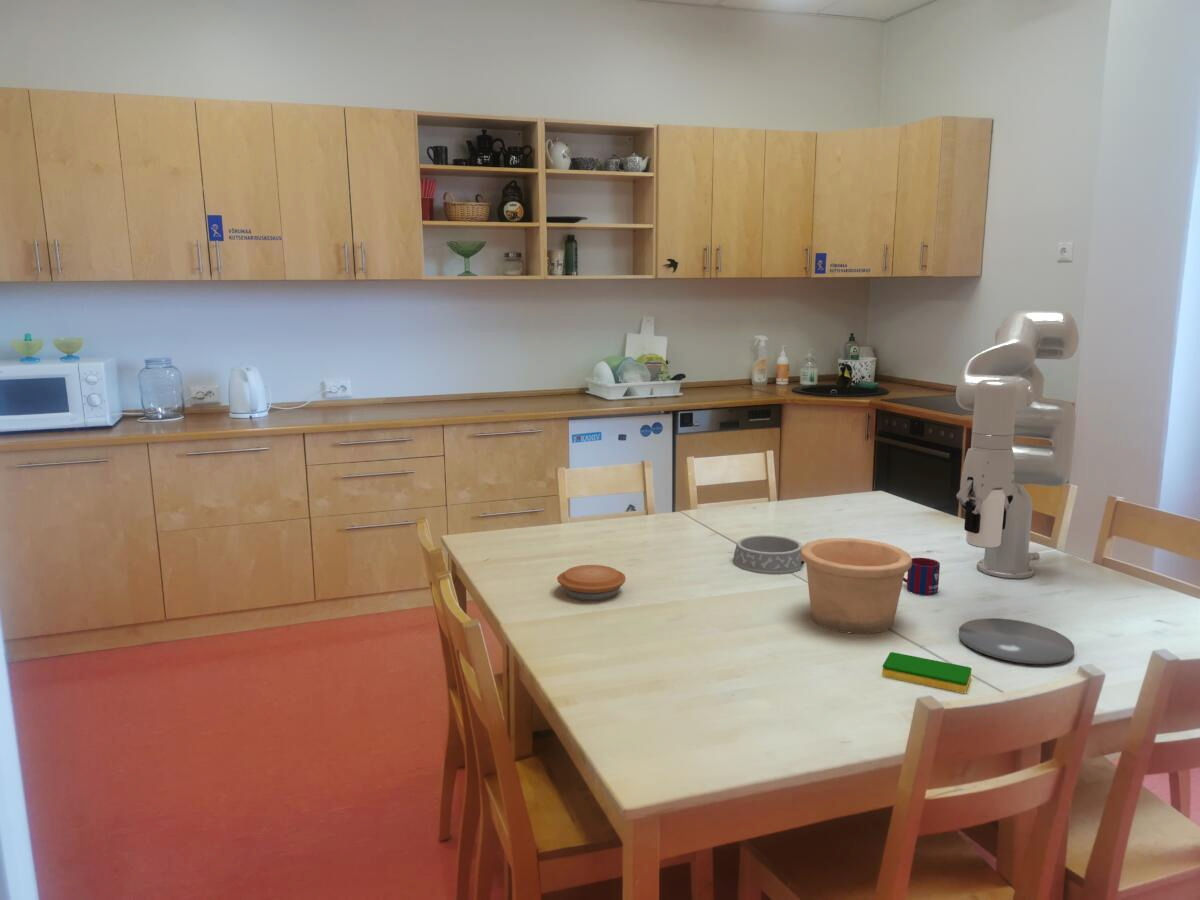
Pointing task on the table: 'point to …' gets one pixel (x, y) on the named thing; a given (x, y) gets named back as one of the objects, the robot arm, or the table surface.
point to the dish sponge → (927, 672)
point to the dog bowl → (768, 554)
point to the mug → (923, 576)
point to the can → (989, 521)
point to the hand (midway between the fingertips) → (984, 529)
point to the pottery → (854, 583)
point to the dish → (1016, 641)
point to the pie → (591, 582)
